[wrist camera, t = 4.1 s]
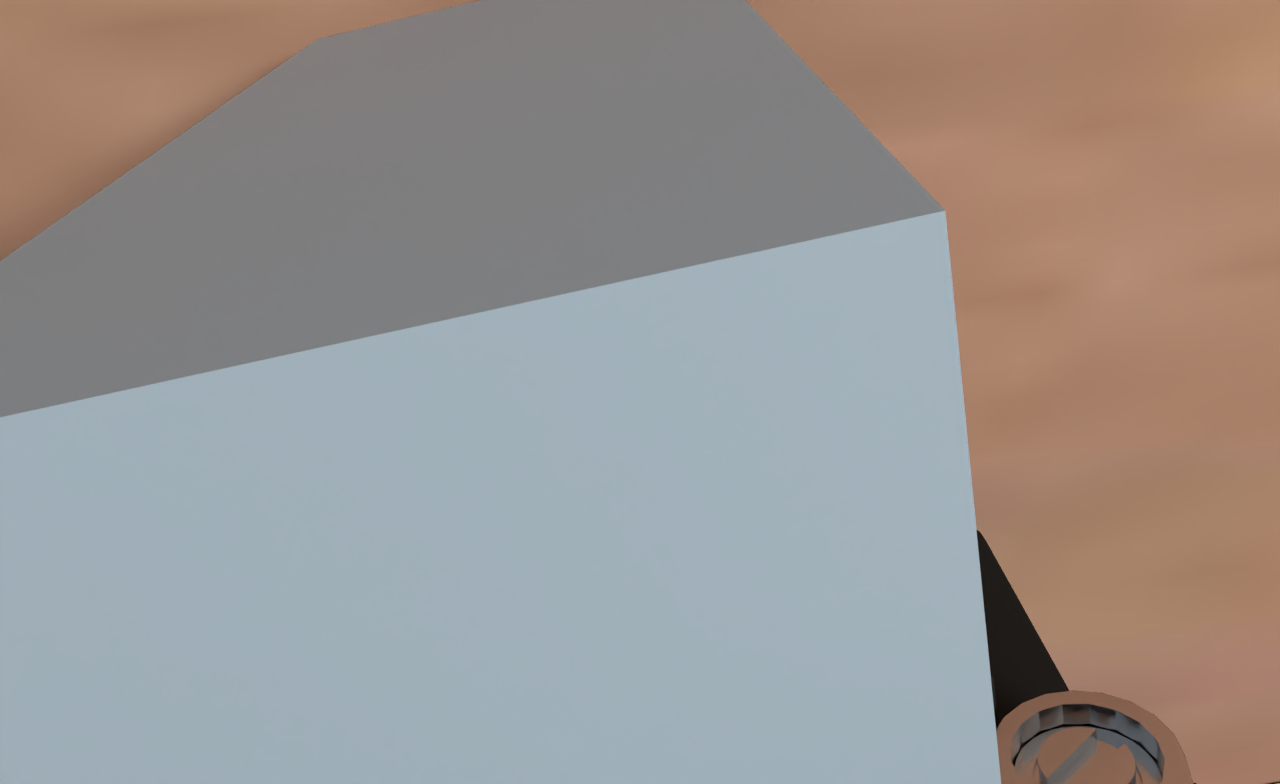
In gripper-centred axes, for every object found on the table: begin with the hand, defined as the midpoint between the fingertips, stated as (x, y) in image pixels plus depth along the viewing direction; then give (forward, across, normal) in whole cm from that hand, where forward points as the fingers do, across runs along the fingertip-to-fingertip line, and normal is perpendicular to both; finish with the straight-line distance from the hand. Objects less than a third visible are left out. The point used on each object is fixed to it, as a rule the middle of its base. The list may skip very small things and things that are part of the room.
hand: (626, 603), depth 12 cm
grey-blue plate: (+4, 0, 0) cm, 4 cm away
